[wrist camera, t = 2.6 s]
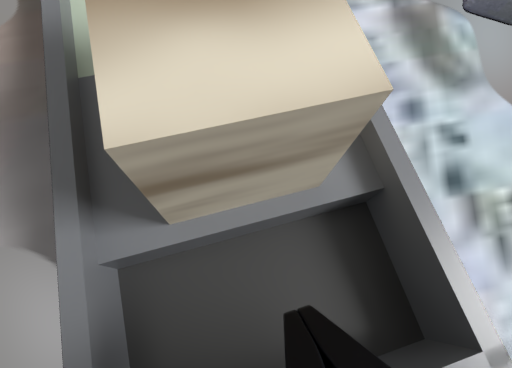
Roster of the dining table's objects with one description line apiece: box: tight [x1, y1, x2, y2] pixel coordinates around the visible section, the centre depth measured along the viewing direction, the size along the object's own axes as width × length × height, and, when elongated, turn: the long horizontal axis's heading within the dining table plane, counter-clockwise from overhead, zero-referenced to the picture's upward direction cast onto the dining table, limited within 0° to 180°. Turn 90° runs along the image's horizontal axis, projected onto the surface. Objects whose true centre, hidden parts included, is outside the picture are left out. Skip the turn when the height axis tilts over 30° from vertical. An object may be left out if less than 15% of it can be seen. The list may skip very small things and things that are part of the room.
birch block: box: [85, 0, 393, 224], centre depth 13 cm, size 10×8×8 cm
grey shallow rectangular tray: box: [41, 0, 512, 368], centre depth 19 cm, size 38×17×4 cm, turn 16°
